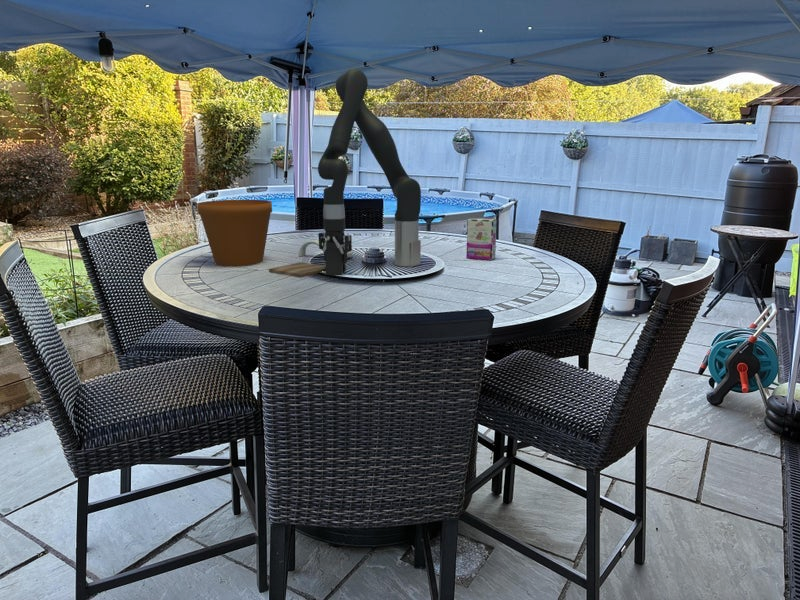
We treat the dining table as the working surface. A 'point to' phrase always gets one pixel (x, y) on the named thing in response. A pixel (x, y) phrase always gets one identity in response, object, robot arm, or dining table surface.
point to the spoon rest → (303, 247)
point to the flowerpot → (236, 230)
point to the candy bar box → (481, 239)
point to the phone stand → (333, 259)
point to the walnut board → (298, 269)
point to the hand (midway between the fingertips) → (335, 262)
